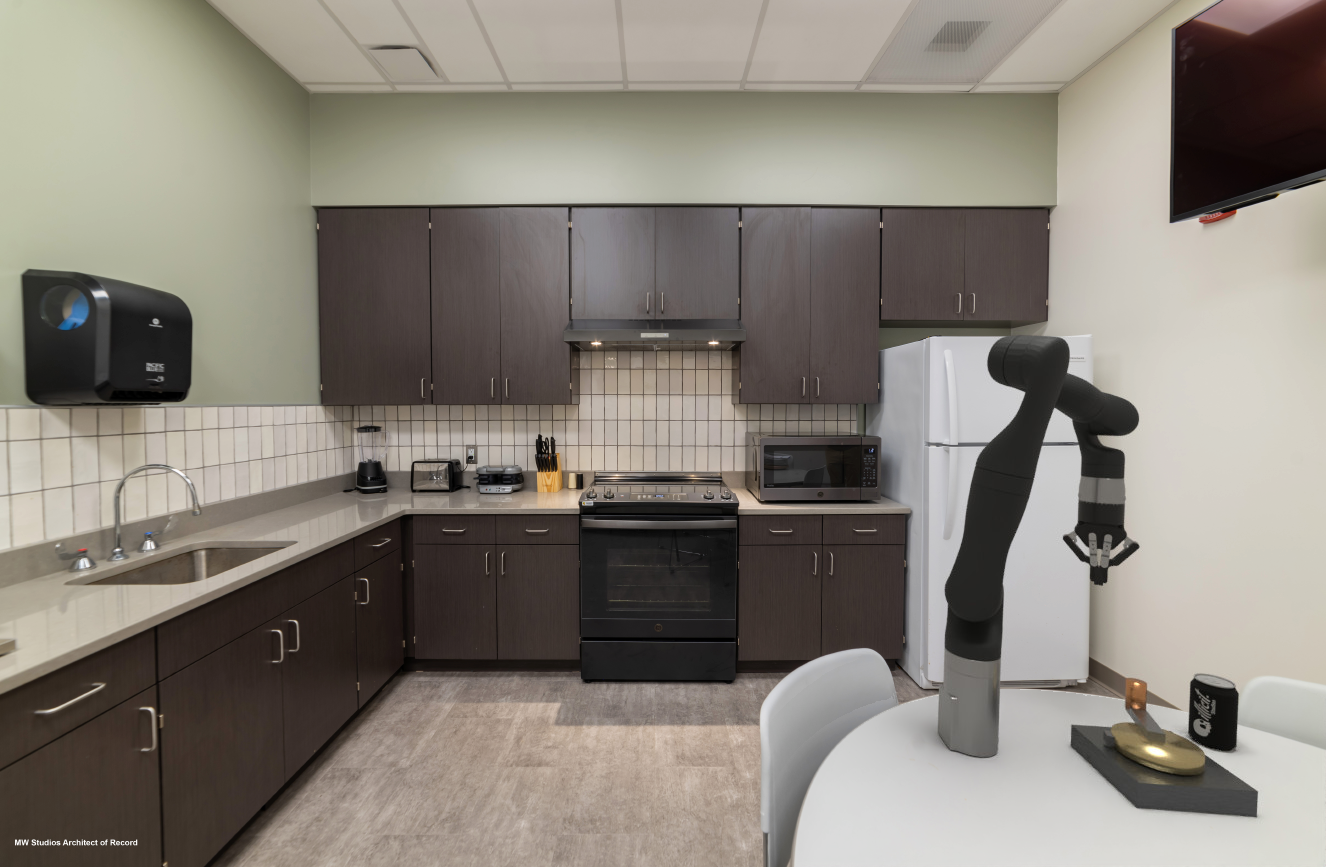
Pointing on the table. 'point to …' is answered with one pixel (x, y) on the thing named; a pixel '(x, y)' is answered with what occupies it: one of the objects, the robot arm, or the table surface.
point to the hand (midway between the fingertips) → (1098, 584)
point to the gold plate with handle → (1152, 738)
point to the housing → (1165, 780)
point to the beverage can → (1213, 712)
